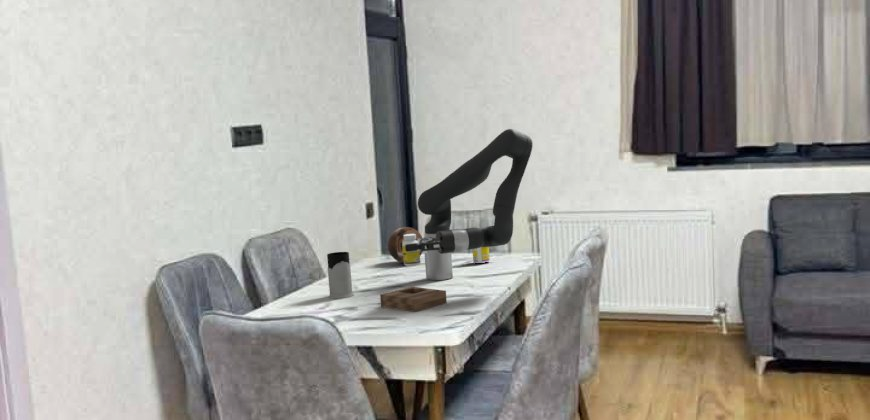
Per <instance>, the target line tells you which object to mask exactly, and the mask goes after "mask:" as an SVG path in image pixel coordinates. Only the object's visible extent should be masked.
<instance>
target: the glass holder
mask: <svg viewBox="0 0 870 420" xmlns="http://www.w3.org/2000/svg"><path fill="white" fill-rule="evenodd" d="M326 256H327V257H326V258H327V276H328V288H329V289H328V290H329V294H328V299H330V300H331V299H332V300H341V299H349V298H352V297H354V296H355V295H354V292H353V283H352V281H353V280H352V270H351V265H350V253H349V252H348V251H334V252H330V253H327V254H326Z"/></svg>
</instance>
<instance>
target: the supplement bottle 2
mask: <svg viewBox="0 0 870 420" xmlns="http://www.w3.org/2000/svg"><path fill="white" fill-rule="evenodd" d="M490 258H491V257H490V247H480V248H477V249H472V261H473V264H475V263H484V262H489V261H491V259H490ZM489 263H490V262H489Z"/></svg>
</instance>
